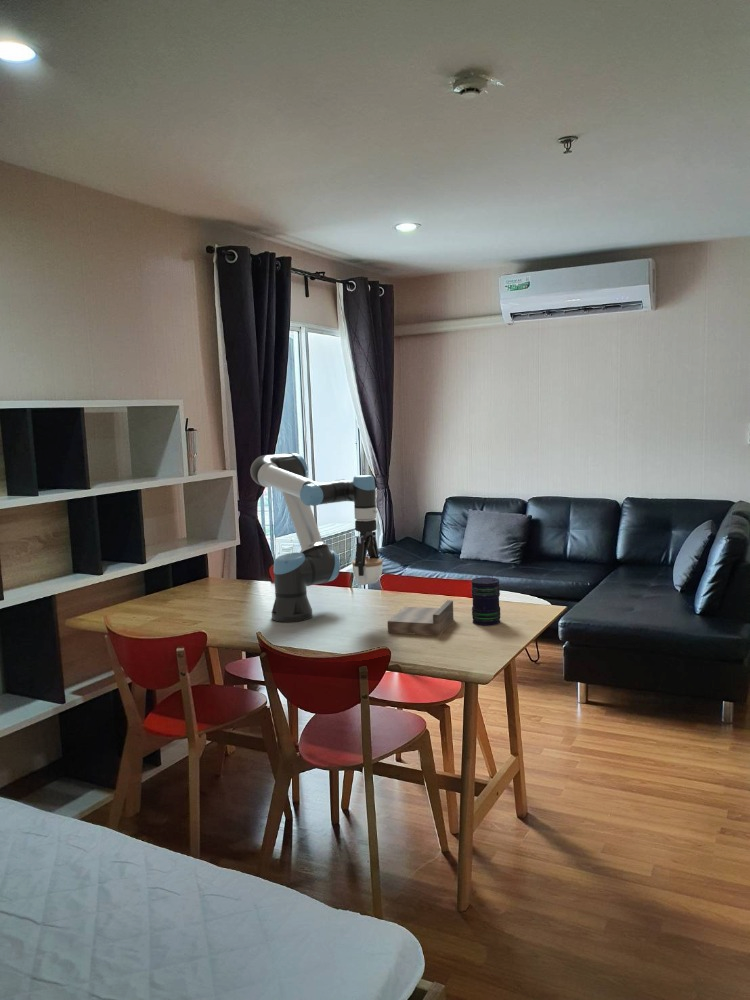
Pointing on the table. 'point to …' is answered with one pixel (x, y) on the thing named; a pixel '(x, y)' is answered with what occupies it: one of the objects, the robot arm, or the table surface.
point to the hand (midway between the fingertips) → (368, 581)
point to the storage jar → (485, 601)
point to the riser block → (422, 620)
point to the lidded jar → (370, 569)
